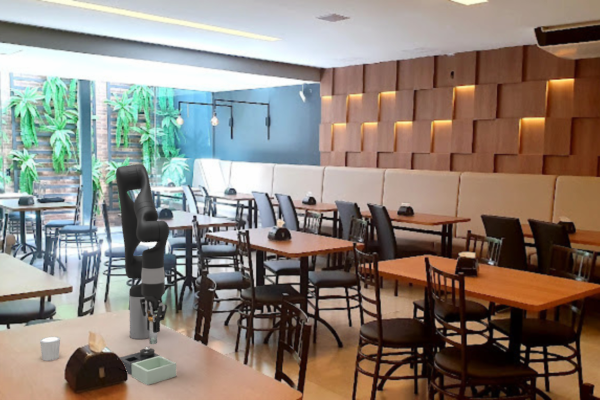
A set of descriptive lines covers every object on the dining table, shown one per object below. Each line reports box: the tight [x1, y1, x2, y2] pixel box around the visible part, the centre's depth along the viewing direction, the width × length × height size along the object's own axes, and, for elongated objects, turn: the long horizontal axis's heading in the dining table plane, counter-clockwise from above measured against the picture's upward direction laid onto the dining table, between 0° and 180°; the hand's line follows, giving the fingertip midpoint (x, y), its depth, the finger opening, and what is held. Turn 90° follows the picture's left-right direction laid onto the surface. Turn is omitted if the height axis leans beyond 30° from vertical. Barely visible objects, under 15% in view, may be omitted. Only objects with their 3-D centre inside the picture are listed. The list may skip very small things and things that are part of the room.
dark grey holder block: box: [118, 346, 161, 376], centre depth 202 cm, size 12×9×6 cm
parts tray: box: [131, 355, 177, 386], centre depth 193 cm, size 11×10×4 cm
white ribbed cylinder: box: [39, 336, 61, 362], centre depth 209 cm, size 7×7×7 cm
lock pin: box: [148, 316, 158, 345], centre depth 192 cm, size 3×3×9 cm
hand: (153, 330), depth 192 cm, fingers closed on lock pin, 3 cm apart
